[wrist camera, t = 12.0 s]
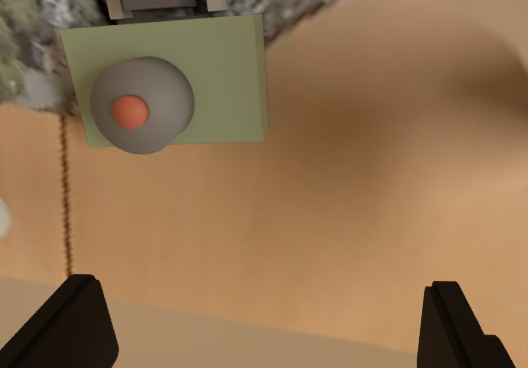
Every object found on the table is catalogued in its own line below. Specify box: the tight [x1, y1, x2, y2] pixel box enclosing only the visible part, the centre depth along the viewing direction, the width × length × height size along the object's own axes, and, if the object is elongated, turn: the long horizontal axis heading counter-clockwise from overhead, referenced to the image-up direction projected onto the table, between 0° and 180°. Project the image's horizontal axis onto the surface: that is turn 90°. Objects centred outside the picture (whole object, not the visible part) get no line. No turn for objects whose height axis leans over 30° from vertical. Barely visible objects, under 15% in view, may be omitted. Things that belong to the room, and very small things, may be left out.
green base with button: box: [59, 0, 270, 154], centre depth 32 cm, size 16×16×10 cm
